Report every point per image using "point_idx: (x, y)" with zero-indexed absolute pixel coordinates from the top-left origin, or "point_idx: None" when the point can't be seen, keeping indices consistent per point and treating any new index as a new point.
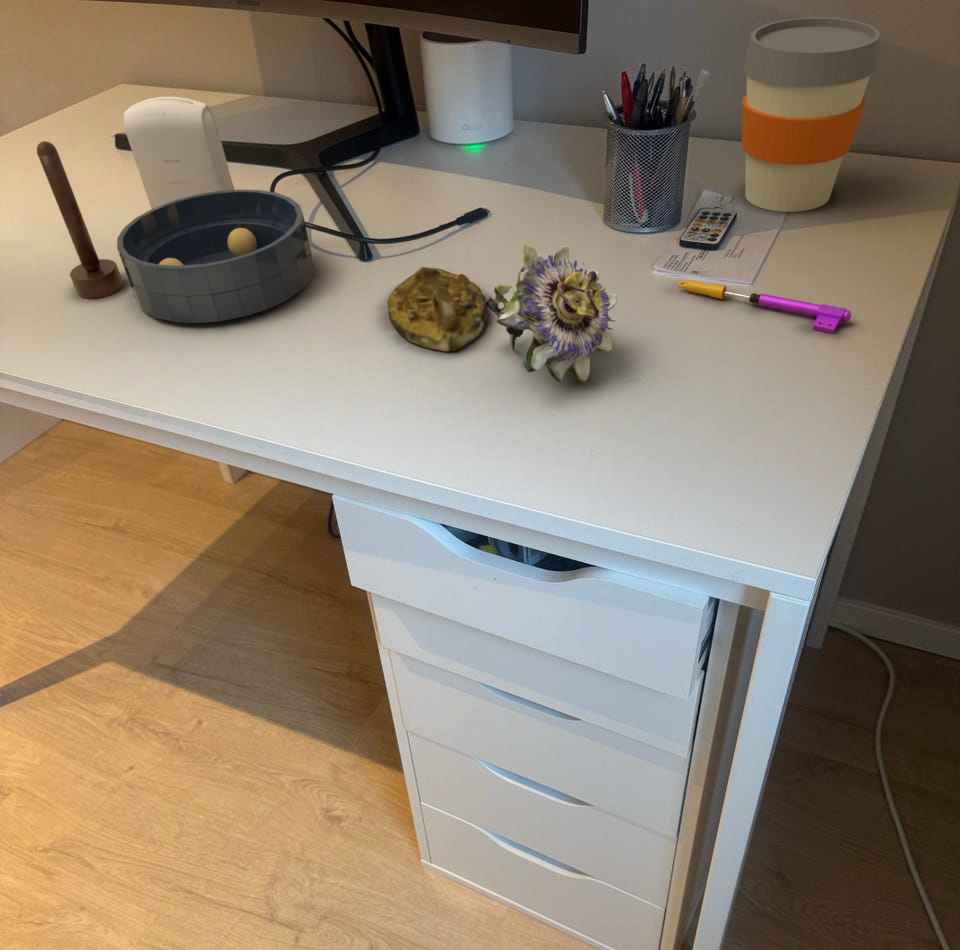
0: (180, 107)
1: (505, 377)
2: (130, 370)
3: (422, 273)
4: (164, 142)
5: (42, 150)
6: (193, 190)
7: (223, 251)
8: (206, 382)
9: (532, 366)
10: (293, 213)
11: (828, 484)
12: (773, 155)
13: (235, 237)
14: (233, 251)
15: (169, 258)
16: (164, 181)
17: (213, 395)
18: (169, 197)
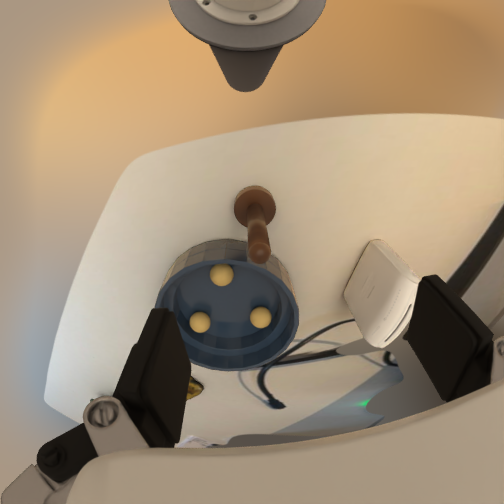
0: (382, 334)
1: (113, 388)
2: (119, 243)
3: (189, 390)
4: (377, 299)
5: (250, 253)
6: (357, 288)
7: (277, 296)
8: (104, 287)
9: (90, 401)
10: (247, 362)
11: (73, 419)
12: None
13: (254, 320)
14: (252, 311)
15: (223, 281)
16: (371, 272)
17: (92, 290)
18: (366, 265)
